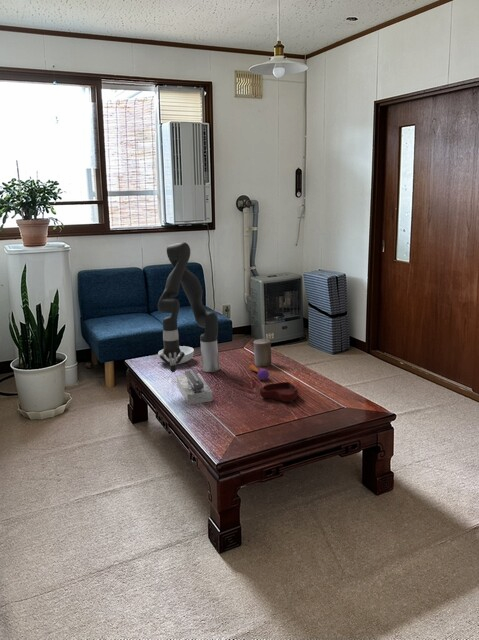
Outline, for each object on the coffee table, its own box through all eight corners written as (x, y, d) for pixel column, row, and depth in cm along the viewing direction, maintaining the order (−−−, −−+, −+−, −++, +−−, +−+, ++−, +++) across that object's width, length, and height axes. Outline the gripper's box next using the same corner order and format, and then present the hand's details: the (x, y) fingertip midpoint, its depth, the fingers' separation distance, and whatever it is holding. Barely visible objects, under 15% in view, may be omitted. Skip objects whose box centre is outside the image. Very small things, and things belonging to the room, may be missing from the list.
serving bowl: (184, 354, 342) (184, 343, 340) (200, 362, 324) (200, 351, 323) (153, 361, 331) (152, 350, 330) (168, 370, 314) (167, 358, 312)
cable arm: (194, 373, 285) (194, 367, 284) (204, 388, 264) (204, 382, 263) (185, 375, 283) (184, 369, 283) (194, 390, 262) (194, 383, 262)
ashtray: (305, 393, 271) (305, 384, 269) (291, 405, 257) (290, 395, 256) (272, 388, 280) (272, 379, 278) (257, 399, 266) (256, 390, 265)
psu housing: (199, 382, 293) (198, 369, 291) (212, 400, 267) (211, 387, 265) (177, 385, 290) (176, 373, 288) (188, 404, 264) (187, 391, 262)
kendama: (258, 362, 308) (271, 370, 289) (256, 372, 309) (269, 381, 290) (247, 361, 306) (260, 370, 288) (246, 372, 307) (259, 381, 288)
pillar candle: (274, 362, 318) (273, 337, 315) (266, 367, 310) (265, 341, 307) (260, 360, 323) (258, 335, 320) (251, 365, 315) (250, 340, 312)
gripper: (182, 335, 279) (184, 368, 283) (156, 337, 276) (158, 371, 280) (185, 338, 272) (187, 372, 276) (158, 341, 269) (161, 375, 273)
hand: (173, 371), depth 278 cm, fingers closed
